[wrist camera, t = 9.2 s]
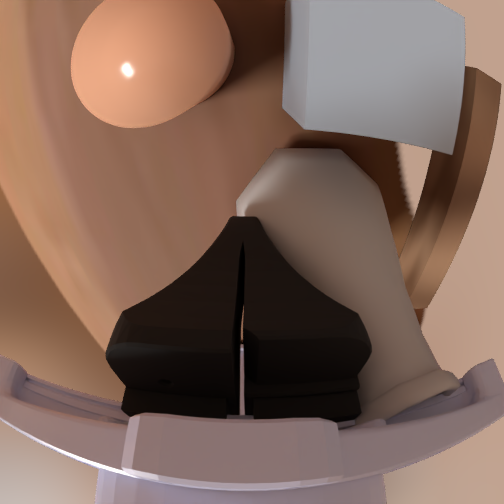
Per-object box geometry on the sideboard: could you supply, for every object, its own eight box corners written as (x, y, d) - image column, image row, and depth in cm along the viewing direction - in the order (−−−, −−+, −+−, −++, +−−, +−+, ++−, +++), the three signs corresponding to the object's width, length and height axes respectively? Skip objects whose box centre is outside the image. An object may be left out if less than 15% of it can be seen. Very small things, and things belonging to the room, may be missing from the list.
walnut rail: (412, 281, 16) (427, 307, 14) (389, 282, 16) (403, 310, 14) (469, 76, 8) (501, 84, 6) (444, 63, 8) (476, 68, 6)
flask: (217, 260, 14) (229, 470, 6) (260, 121, 10) (417, 332, 2) (336, 280, 16) (401, 435, 8) (394, 172, 12) (539, 319, 4)
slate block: (387, 121, 10) (452, 155, 6) (282, 107, 10) (304, 129, 6) (393, 26, 7) (464, 17, 3) (284, 3, 7) (308, -40, 3)
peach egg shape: (234, 106, 10) (226, 121, 7) (125, 116, 10) (78, 138, 7) (235, 2, 7) (229, -32, 4) (121, 18, 7) (72, 5, 4)
